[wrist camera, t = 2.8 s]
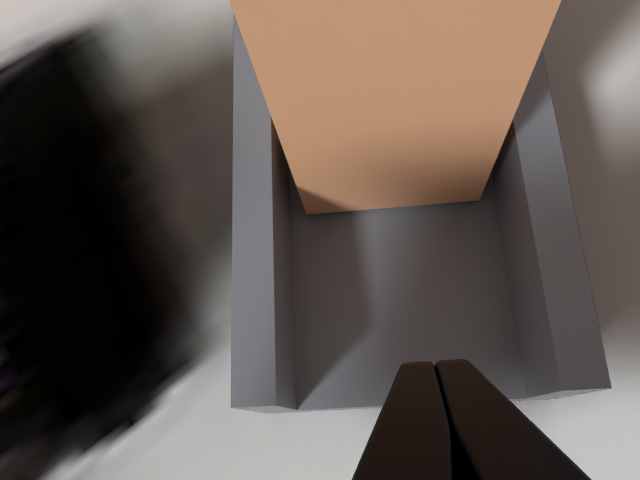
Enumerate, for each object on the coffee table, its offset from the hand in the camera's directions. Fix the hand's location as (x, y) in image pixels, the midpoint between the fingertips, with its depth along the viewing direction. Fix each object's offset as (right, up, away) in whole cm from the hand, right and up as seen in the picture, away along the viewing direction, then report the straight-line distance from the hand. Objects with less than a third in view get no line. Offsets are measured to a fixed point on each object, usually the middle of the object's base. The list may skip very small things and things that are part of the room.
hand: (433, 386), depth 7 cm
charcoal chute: (+1, +5, +11) cm, 12 cm away
